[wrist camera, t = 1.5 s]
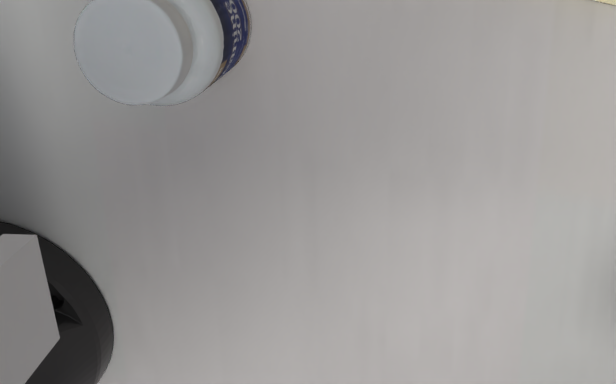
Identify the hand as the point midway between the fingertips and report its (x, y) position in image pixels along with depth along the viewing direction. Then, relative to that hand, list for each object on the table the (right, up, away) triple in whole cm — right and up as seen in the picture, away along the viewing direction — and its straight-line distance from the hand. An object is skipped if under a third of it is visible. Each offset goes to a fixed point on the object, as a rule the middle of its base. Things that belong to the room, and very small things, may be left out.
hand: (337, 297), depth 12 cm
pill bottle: (-6, +11, +16) cm, 21 cm away
